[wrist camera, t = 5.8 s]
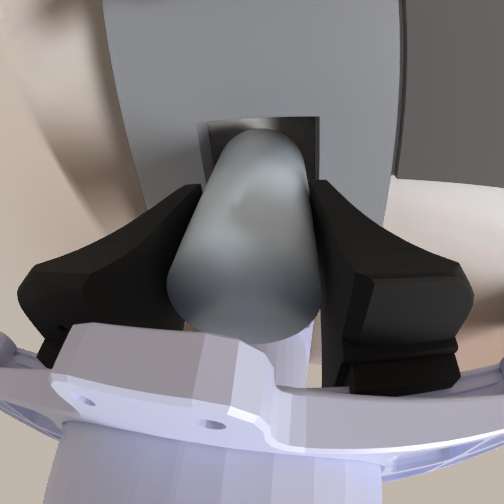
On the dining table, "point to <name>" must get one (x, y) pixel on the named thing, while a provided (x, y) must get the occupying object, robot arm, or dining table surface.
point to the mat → (453, 92)
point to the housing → (258, 84)
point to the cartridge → (250, 245)
